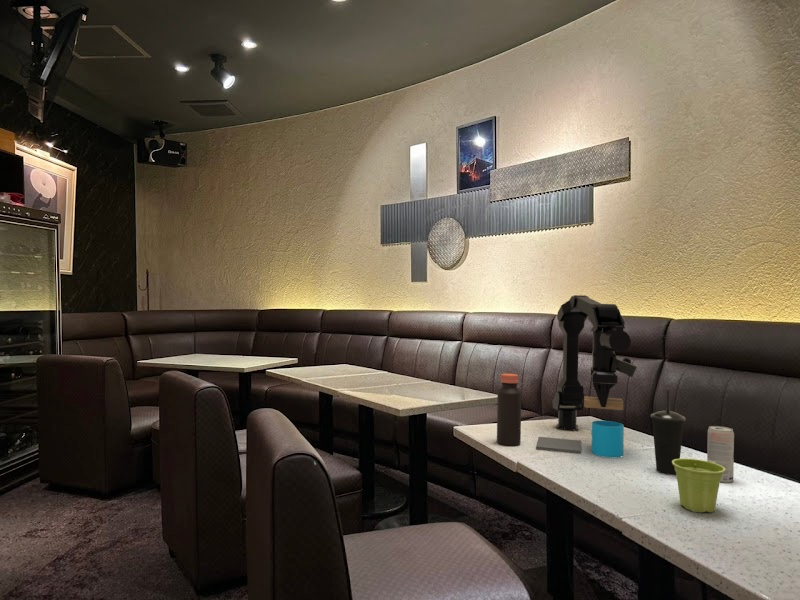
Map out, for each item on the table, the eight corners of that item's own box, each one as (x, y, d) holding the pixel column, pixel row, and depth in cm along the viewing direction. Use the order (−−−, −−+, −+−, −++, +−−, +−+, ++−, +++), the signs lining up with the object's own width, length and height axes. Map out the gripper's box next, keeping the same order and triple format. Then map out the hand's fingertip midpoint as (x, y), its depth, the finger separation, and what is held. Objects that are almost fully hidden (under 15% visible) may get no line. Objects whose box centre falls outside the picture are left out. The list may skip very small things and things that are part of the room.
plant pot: (677, 495, 116) (677, 455, 116) (728, 507, 110) (728, 464, 110) (666, 508, 108) (666, 465, 109) (720, 520, 102) (720, 475, 103)
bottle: (492, 442, 158) (493, 374, 158) (506, 439, 162) (507, 372, 162) (511, 447, 152) (512, 376, 153) (525, 443, 157) (526, 375, 157)
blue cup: (629, 457, 145) (630, 426, 145) (601, 458, 144) (601, 427, 144) (605, 445, 157) (605, 417, 157) (579, 446, 155) (579, 417, 155)
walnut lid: (584, 403, 155) (584, 396, 155) (621, 405, 152) (621, 398, 152) (584, 407, 149) (584, 400, 149) (623, 410, 146) (623, 402, 146)
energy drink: (729, 477, 129) (729, 426, 129) (736, 484, 124) (737, 431, 124) (704, 474, 131) (704, 425, 131) (710, 481, 125) (711, 430, 125)
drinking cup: (653, 475, 130) (654, 391, 130) (647, 465, 137) (648, 387, 137) (688, 477, 128) (689, 393, 128) (680, 468, 135) (681, 388, 135)
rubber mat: (538, 439, 162) (538, 436, 162) (580, 443, 159) (580, 440, 159) (535, 449, 151) (535, 446, 151) (581, 453, 147) (581, 450, 147)
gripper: (638, 352, 139) (637, 413, 139) (631, 347, 157) (630, 401, 157) (592, 351, 143) (592, 410, 142) (590, 345, 160) (590, 398, 160)
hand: (602, 404), depth 150 cm, fingers closed on walnut lid, 6 cm apart
